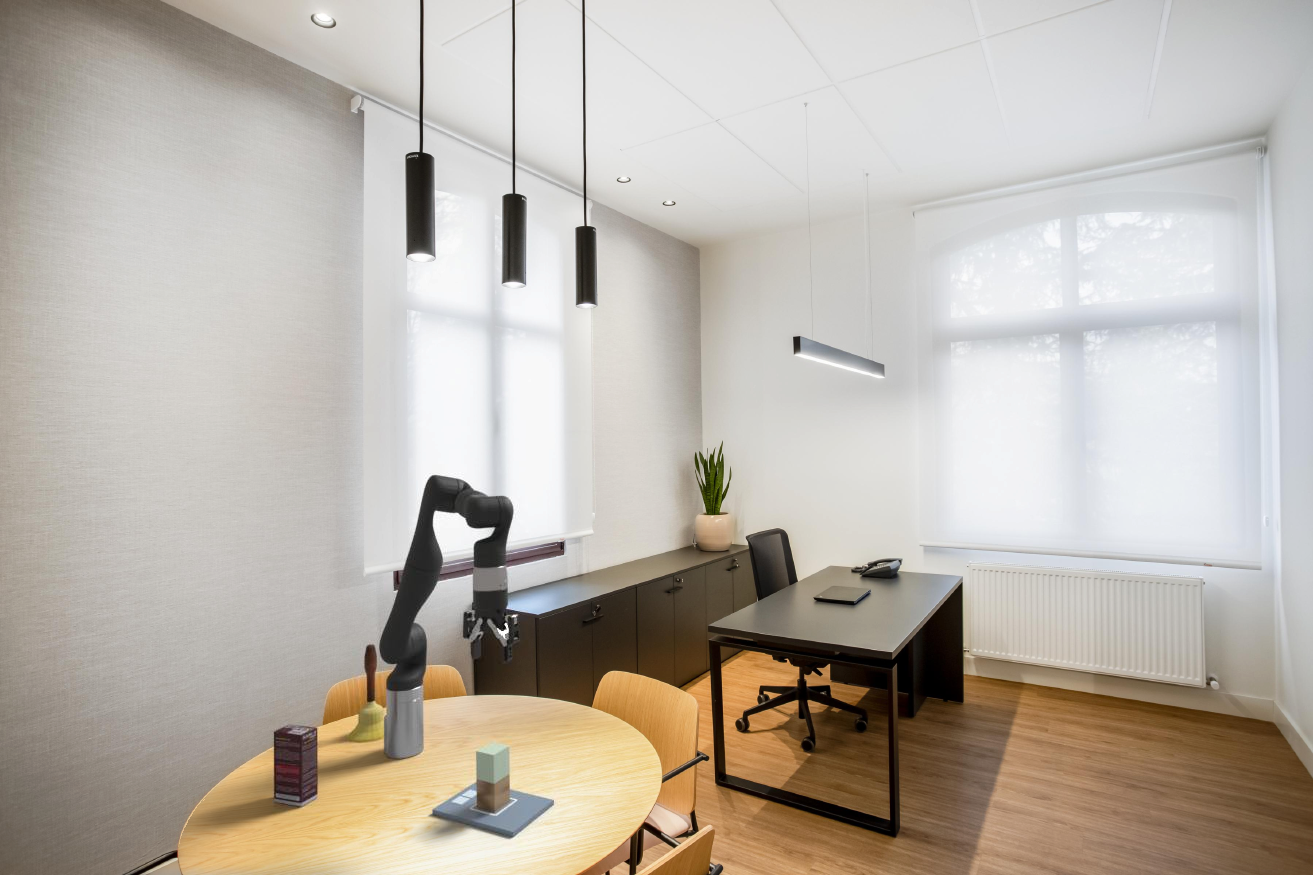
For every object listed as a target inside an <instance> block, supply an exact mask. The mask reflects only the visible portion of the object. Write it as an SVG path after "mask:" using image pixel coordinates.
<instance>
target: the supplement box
mask: <svg viewBox="0 0 1313 875" xmlns="http://www.w3.org/2000/svg"><path fill="white" fill-rule="evenodd" d="M318 746H319V745H318V727H313V726H304V725H297V724H288V725H286V726H283V727H280V728H278V729H276V730H274V731H273V802H274V803H278V804H283V803H284V804H285V805H289V806H290V805H291V806H295V807H297V806H298V807H300V808H301V807H303V806H306V805H308V804H309V803H311V802H313V801H314V800H316V799H317V798H318V797H319V794H318V790H319V787H318V786H319V782H318V778H319V777H318V775H319V774H318V763H319V762H318V757H319V756H318V755H319V754H318V752H319V751H318V748H319V747H318Z"/></svg>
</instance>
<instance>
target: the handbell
mask: <svg viewBox="0 0 1313 875" xmlns="http://www.w3.org/2000/svg"><path fill="white" fill-rule="evenodd" d="M363 661H364V662H363V664H364V671H365V674H366V703H365V705H364V706H362V707H361V708H360V710H359V711H358V720H357V721H358V723H357V724H356V726H355V727H354V728H353V729H352V731H351V732H350V733H348V735H347V740H348V741H349V742H352V743H357V744H358V743H371V742H375V741H376V742H377V741H380V740H384V716H385V715H384V708H383V706H382V705H380V704H378V703H377V702H376V671H377V668H378V655H377V649H376V646H375V644H373V643H372V644H371V643H370V644H367V645H366V646H365V652H364V660H363Z"/></svg>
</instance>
